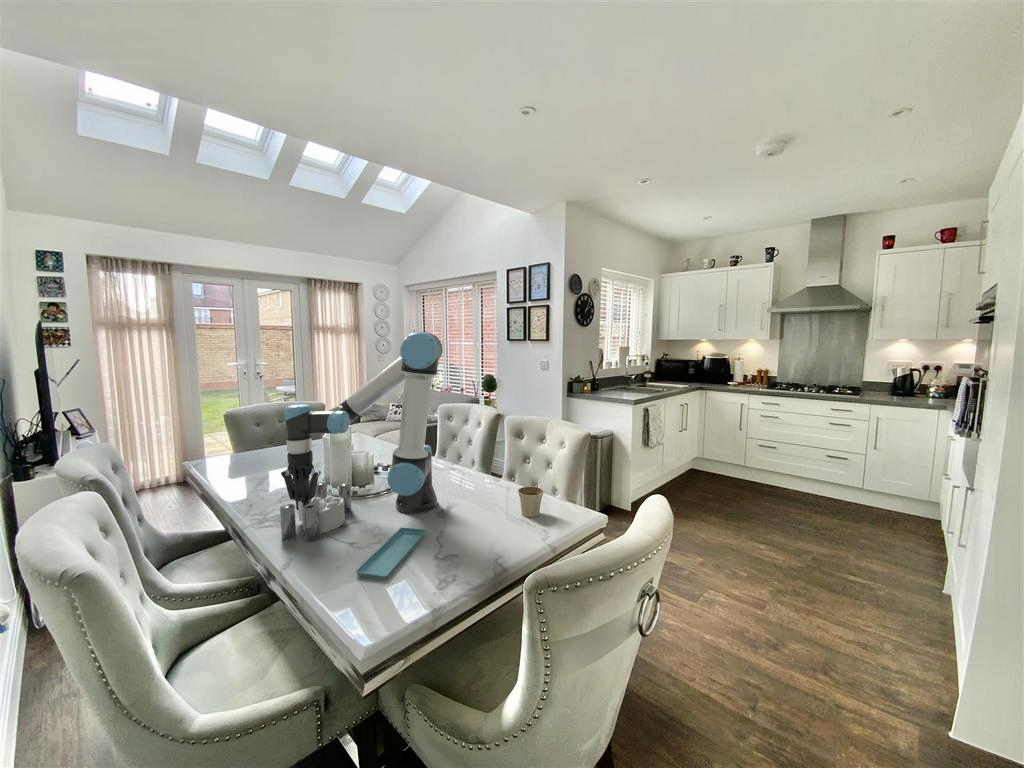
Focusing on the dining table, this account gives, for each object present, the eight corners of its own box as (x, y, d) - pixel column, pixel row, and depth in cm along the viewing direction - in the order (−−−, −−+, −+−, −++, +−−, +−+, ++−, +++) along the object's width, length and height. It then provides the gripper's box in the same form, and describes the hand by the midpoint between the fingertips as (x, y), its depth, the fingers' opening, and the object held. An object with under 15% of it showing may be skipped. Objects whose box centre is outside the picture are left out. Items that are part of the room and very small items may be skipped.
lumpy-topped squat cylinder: (298, 528, 136) (297, 503, 135) (331, 514, 147) (330, 490, 147) (319, 535, 131) (318, 509, 130) (352, 520, 143) (351, 495, 142)
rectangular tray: (386, 583, 106) (386, 574, 106) (354, 579, 108) (354, 570, 108) (427, 537, 131) (427, 529, 131) (401, 534, 133) (401, 526, 133)
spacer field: (355, 507, 153) (354, 481, 152) (315, 541, 127) (314, 510, 126) (303, 505, 155) (302, 479, 154) (254, 538, 129) (252, 507, 128)
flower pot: (549, 513, 148) (549, 490, 148) (532, 522, 142) (532, 497, 141) (529, 506, 155) (529, 484, 154) (512, 514, 148) (512, 490, 147)
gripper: (324, 448, 141) (327, 515, 144) (288, 447, 142) (291, 513, 145) (312, 454, 134) (315, 524, 136) (274, 453, 135) (278, 523, 137)
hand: (303, 518), depth 140 cm, fingers closed
